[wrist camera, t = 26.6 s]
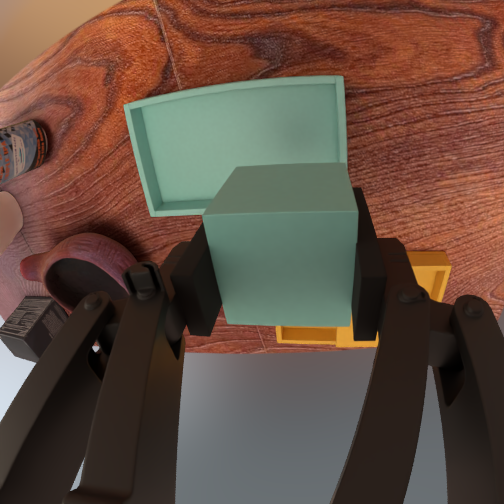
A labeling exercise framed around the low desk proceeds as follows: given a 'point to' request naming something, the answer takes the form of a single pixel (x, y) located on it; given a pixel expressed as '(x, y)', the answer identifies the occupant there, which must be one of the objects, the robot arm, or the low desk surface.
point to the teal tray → (232, 135)
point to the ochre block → (351, 338)
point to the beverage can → (21, 149)
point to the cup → (9, 219)
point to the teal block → (285, 244)
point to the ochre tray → (427, 275)
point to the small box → (32, 327)
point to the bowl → (80, 268)
